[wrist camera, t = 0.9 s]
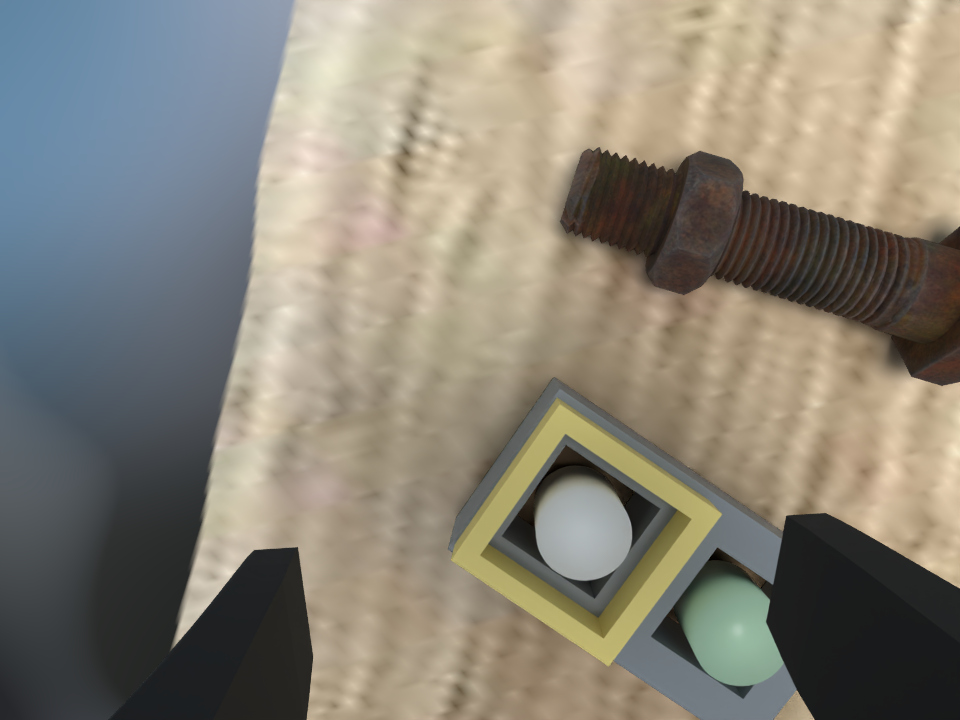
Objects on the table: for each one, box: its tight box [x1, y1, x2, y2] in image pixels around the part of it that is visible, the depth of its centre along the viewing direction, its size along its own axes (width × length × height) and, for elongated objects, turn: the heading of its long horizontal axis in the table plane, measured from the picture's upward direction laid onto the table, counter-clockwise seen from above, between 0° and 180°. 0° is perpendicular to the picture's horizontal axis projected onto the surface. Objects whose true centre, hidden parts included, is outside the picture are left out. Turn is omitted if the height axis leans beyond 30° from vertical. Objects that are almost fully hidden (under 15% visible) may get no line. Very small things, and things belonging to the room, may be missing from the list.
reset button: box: [534, 466, 632, 581], centre depth 25 cm, size 3×3×3 cm
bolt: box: [560, 147, 960, 386], centre depth 25 cm, size 6×5×15 cm
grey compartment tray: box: [448, 377, 797, 720], centre depth 25 cm, size 7×13×5 cm, turn 56°
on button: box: [673, 561, 784, 686], centre depth 25 cm, size 3×3×3 cm
